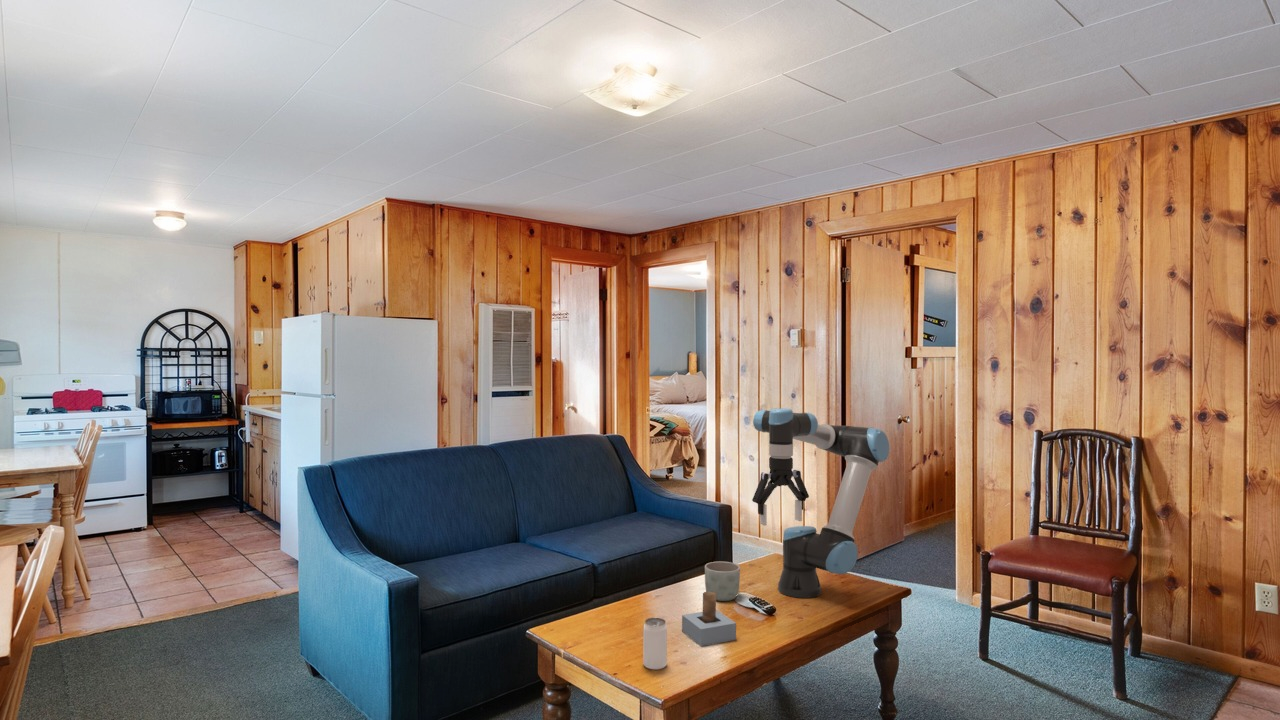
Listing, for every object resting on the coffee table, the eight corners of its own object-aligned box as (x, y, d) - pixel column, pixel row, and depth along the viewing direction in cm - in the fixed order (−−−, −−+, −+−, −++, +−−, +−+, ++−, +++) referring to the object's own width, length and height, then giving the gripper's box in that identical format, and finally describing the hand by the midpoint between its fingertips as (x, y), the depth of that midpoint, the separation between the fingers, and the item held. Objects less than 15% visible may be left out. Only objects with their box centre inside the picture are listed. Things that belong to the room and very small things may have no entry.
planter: (739, 604, 234) (739, 572, 234) (703, 602, 237) (703, 570, 237) (740, 592, 247) (740, 562, 247) (706, 590, 249) (706, 560, 249)
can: (652, 672, 183) (652, 627, 183) (638, 663, 189) (638, 620, 189) (671, 666, 187) (671, 622, 187) (657, 657, 192) (657, 615, 192)
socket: (715, 625, 216) (716, 609, 216) (736, 639, 205) (736, 623, 205) (682, 631, 211) (682, 615, 211) (700, 646, 200) (700, 629, 200)
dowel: (711, 630, 211) (712, 591, 211) (717, 634, 207) (718, 595, 207) (699, 631, 209) (700, 592, 209) (706, 636, 206) (706, 596, 206)
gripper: (805, 452, 229) (805, 516, 230) (741, 457, 219) (741, 523, 220) (819, 455, 222) (819, 521, 223) (754, 460, 213) (754, 529, 213)
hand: (781, 522), depth 221 cm, fingers open, 13 cm apart
